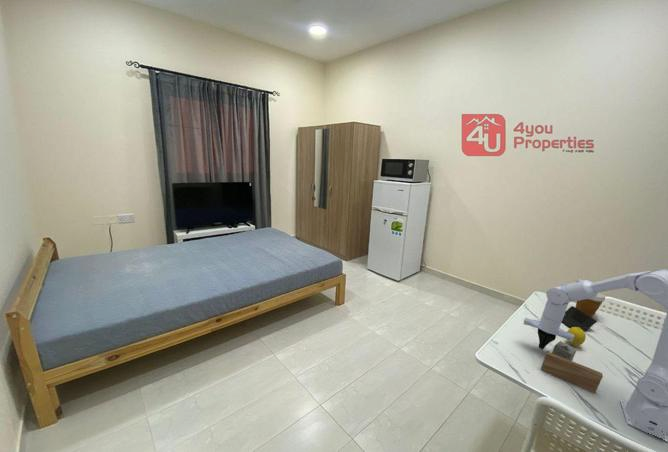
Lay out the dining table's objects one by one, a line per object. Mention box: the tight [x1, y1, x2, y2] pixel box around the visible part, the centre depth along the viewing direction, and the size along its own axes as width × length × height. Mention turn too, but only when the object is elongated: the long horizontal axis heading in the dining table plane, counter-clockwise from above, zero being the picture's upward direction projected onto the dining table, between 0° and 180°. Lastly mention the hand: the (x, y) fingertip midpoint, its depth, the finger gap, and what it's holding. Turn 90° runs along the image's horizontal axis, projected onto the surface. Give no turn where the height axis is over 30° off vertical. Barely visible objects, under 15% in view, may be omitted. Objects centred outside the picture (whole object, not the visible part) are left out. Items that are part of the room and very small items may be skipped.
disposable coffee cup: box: [575, 292, 606, 318], centre depth 127 cm, size 10×10×12 cm
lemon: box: [566, 327, 586, 346], centre depth 107 cm, size 6×6×8 cm
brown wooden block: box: [540, 351, 604, 394], centre depth 90 cm, size 2×14×7 cm, turn 54°
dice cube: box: [551, 340, 578, 361], centre depth 100 cm, size 5×5×5 cm
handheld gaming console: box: [561, 305, 598, 333], centre depth 121 cm, size 12×7×10 cm
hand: (540, 347), depth 103 cm, fingers closed
